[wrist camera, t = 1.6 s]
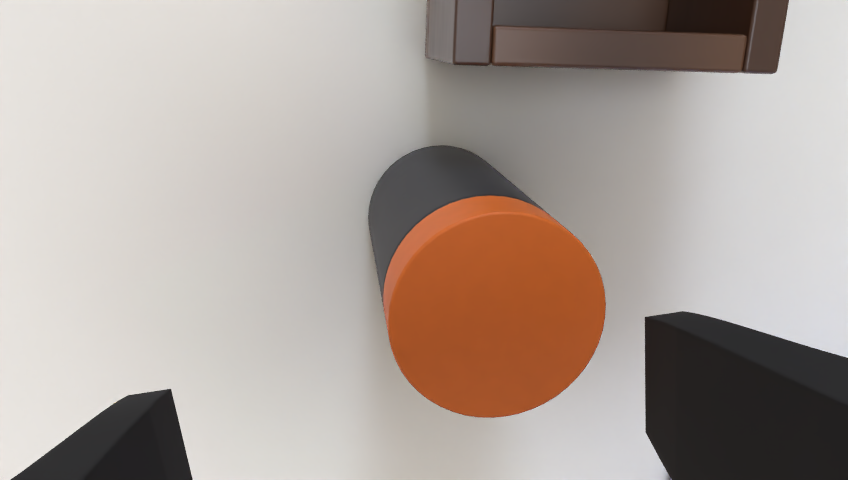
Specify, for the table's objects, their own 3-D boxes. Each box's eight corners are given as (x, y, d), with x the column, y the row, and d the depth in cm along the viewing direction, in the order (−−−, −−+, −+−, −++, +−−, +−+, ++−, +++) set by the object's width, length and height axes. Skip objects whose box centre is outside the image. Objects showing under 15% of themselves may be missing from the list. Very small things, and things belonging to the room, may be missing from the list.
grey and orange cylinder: (513, 146, 19) (617, 211, 12) (503, 281, 20) (595, 414, 13) (369, 144, 19) (389, 211, 12) (367, 283, 20) (385, 422, 13)
